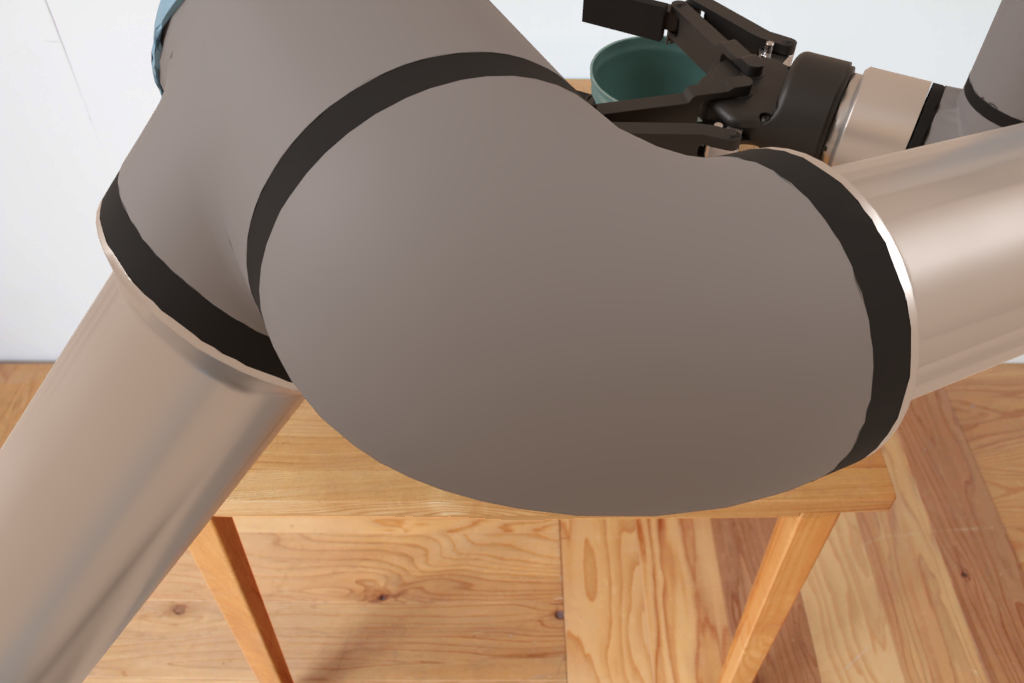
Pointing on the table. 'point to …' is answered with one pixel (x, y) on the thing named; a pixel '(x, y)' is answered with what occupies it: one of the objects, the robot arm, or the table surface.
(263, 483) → the table surface
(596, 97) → the flower pot
